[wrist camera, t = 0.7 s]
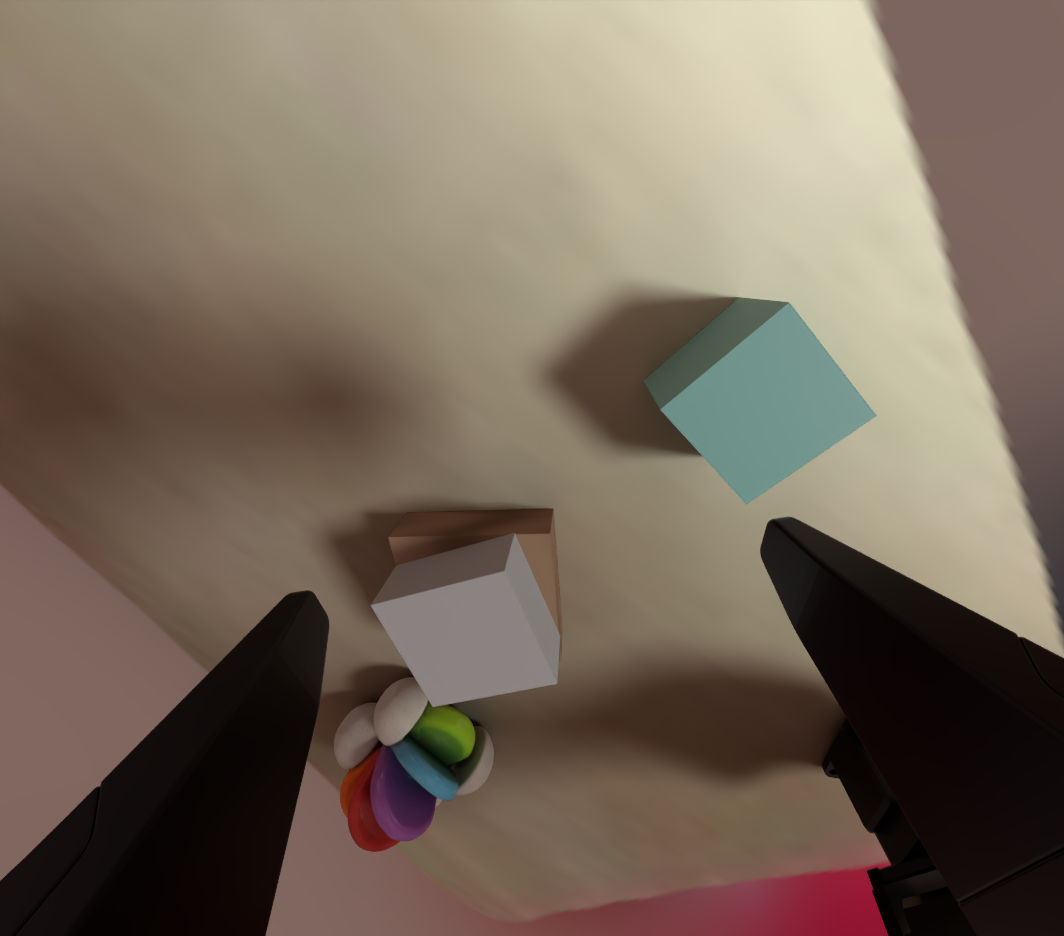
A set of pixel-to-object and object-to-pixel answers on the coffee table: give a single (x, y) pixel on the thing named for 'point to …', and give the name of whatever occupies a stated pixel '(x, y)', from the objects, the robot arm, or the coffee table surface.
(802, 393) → the teal cube
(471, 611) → the tower mid
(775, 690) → the coffee table surface
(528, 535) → the tower base
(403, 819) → the rainbow segmented toy
